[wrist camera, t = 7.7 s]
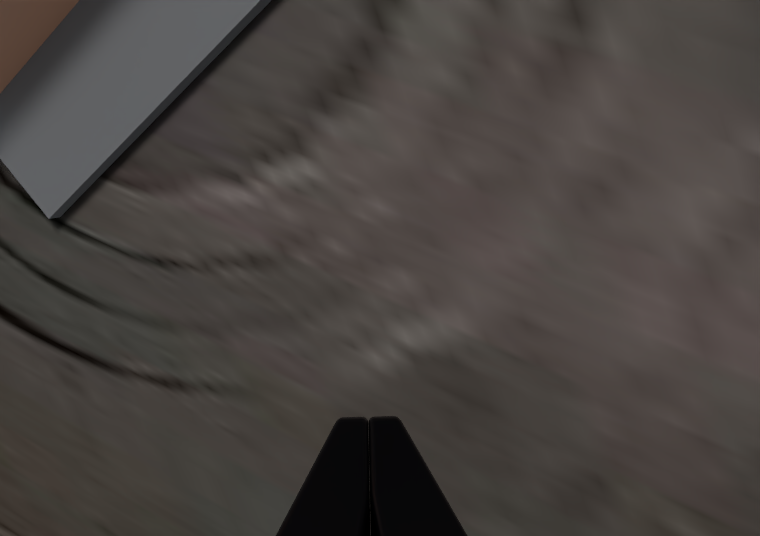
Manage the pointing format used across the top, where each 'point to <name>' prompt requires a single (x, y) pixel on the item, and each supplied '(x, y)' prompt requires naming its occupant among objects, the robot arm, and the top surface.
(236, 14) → the rubber mat
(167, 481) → the top surface
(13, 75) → the terracotta tile
